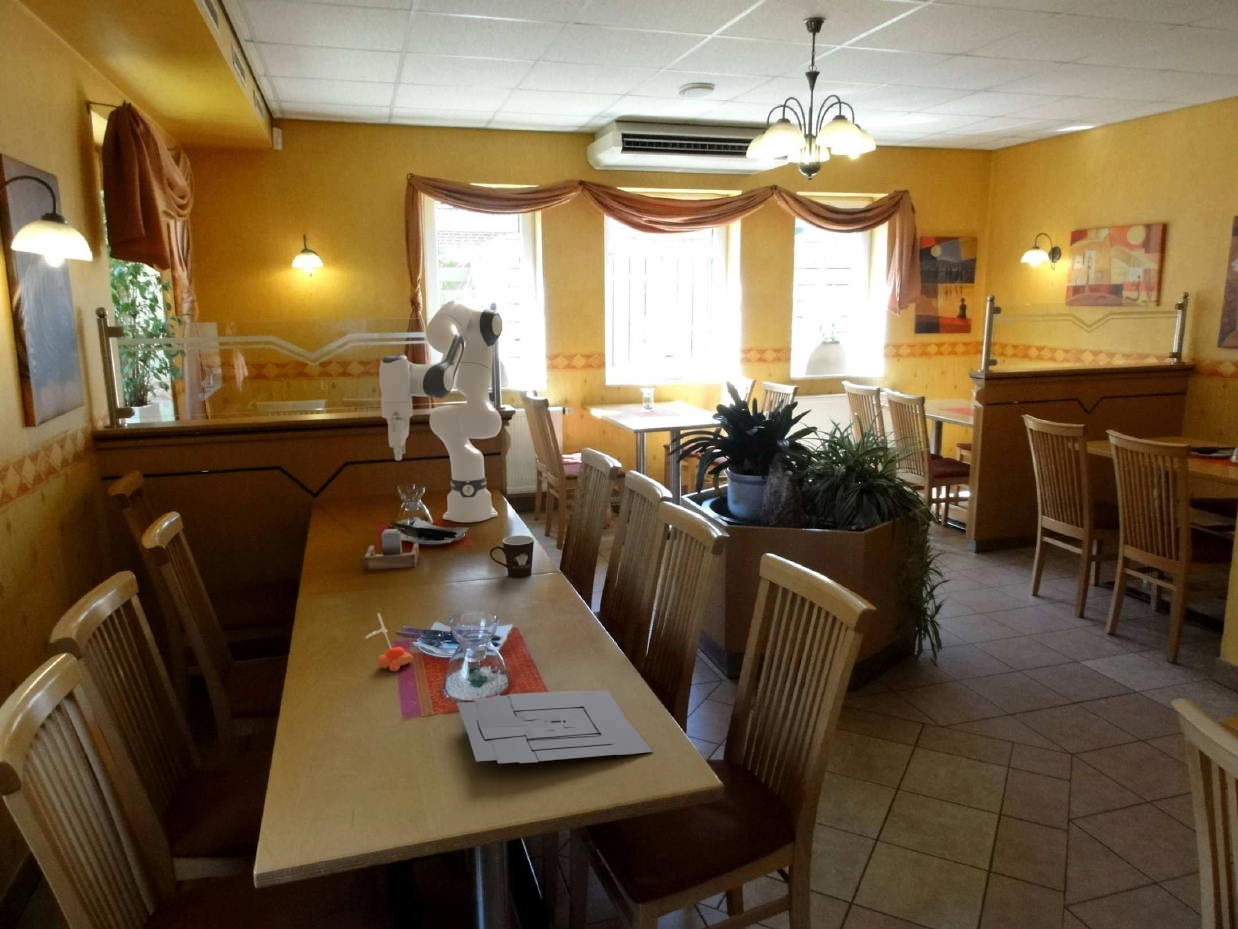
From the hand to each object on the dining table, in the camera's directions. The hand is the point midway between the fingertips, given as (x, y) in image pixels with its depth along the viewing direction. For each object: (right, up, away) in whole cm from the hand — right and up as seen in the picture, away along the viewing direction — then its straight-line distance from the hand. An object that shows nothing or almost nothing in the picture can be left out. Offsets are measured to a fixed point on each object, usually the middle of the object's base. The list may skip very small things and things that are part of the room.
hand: (400, 456), depth 250 cm
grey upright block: (-1, -30, -4) cm, 30 cm away
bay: (-1, -31, -4) cm, 31 cm away
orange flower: (+17, -45, -73) cm, 87 cm away
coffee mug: (+36, -33, -17) cm, 52 cm away
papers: (+53, -51, -100) cm, 124 cm away
